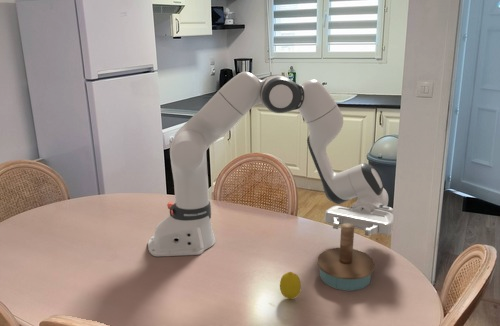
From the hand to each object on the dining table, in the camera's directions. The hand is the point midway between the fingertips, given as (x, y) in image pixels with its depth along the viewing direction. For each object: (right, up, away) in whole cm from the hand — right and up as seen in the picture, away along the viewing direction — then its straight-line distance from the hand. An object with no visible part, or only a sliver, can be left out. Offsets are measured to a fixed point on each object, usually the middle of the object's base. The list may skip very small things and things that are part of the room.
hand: (350, 229), depth 126 cm
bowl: (-1, -14, +2) cm, 14 cm away
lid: (-1, -10, +1) cm, 10 cm away
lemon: (-18, -17, -8) cm, 26 cm away
